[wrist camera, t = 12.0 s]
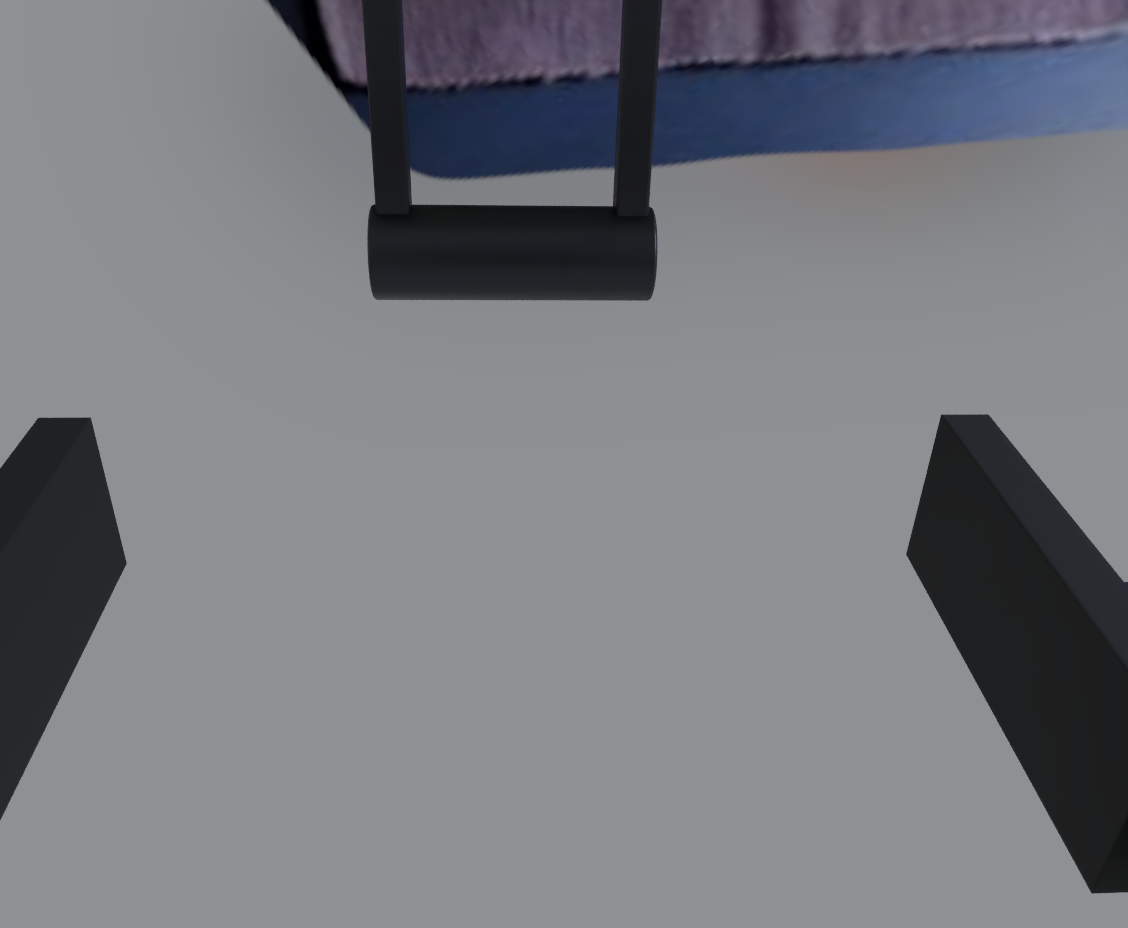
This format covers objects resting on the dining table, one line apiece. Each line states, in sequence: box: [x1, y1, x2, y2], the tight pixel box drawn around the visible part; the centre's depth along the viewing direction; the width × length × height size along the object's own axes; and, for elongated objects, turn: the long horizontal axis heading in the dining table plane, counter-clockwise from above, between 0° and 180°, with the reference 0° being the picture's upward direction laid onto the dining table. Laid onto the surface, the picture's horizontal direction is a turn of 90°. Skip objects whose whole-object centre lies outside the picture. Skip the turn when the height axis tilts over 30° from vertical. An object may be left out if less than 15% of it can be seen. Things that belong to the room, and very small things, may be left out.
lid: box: [362, 0, 662, 300], centre depth 26 cm, size 16×17×9 cm
